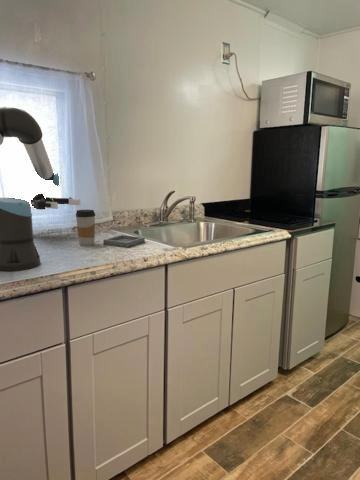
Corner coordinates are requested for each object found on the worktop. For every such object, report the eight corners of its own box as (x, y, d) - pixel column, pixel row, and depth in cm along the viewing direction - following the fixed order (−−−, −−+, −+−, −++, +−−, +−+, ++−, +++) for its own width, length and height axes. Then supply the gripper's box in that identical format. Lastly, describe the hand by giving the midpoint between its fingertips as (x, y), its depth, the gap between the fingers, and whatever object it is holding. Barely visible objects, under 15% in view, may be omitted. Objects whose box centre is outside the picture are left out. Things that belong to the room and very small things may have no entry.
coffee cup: (91, 246, 159) (90, 212, 156) (73, 246, 161) (71, 211, 158) (99, 242, 167) (98, 209, 164) (82, 242, 169) (80, 209, 166)
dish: (127, 247, 158) (127, 242, 158) (103, 244, 164) (103, 239, 164) (144, 242, 169) (144, 237, 169) (121, 239, 175) (121, 234, 175)
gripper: (56, 206, 187) (88, 209, 177) (13, 212, 166) (47, 216, 156) (55, 191, 186) (87, 193, 176) (12, 195, 164) (45, 198, 154)
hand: (68, 204), depth 166 cm, fingers open, 13 cm apart
